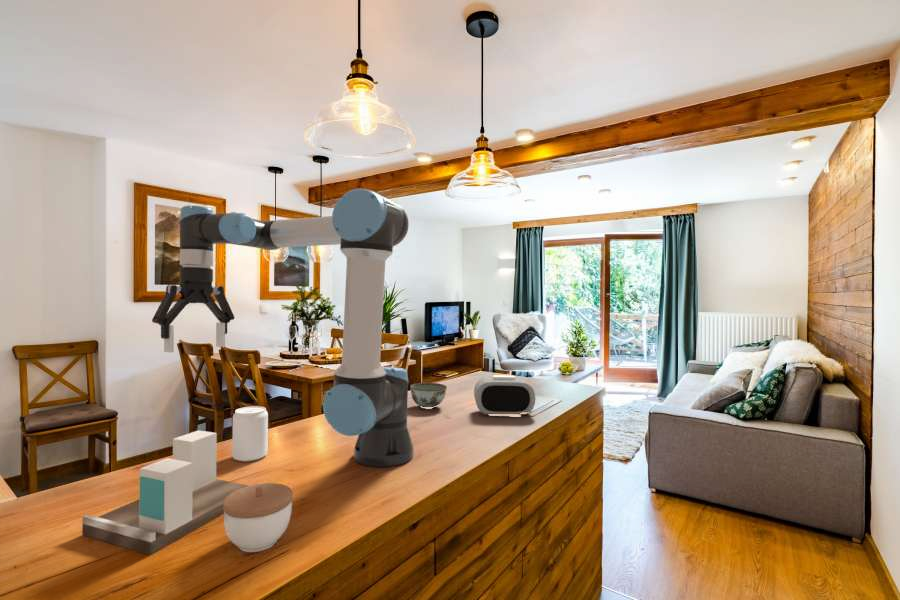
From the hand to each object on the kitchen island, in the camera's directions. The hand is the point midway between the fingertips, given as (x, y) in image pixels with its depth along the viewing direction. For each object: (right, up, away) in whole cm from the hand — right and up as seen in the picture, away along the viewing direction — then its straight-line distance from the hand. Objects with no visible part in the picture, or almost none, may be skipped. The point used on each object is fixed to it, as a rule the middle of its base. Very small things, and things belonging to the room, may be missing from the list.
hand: (195, 349), depth 116 cm
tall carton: (+13, -25, -24) cm, 37 cm away
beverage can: (+15, -27, -3) cm, 31 cm away
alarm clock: (+85, -28, +42) cm, 99 cm away
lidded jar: (+34, -28, -41) cm, 60 cm away
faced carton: (+17, -26, -39) cm, 50 cm away
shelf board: (+15, -27, -32) cm, 45 cm away
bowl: (+58, -27, +49) cm, 81 cm away
